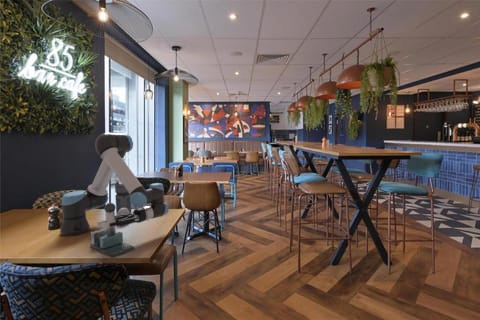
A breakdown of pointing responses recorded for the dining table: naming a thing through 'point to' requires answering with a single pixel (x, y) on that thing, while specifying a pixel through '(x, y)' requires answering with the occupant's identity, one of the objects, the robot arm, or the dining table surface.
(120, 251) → the nutcracker base
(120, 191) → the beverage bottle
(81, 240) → the dining table surface
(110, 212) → the jaw
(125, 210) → the donut
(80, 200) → the robot arm
